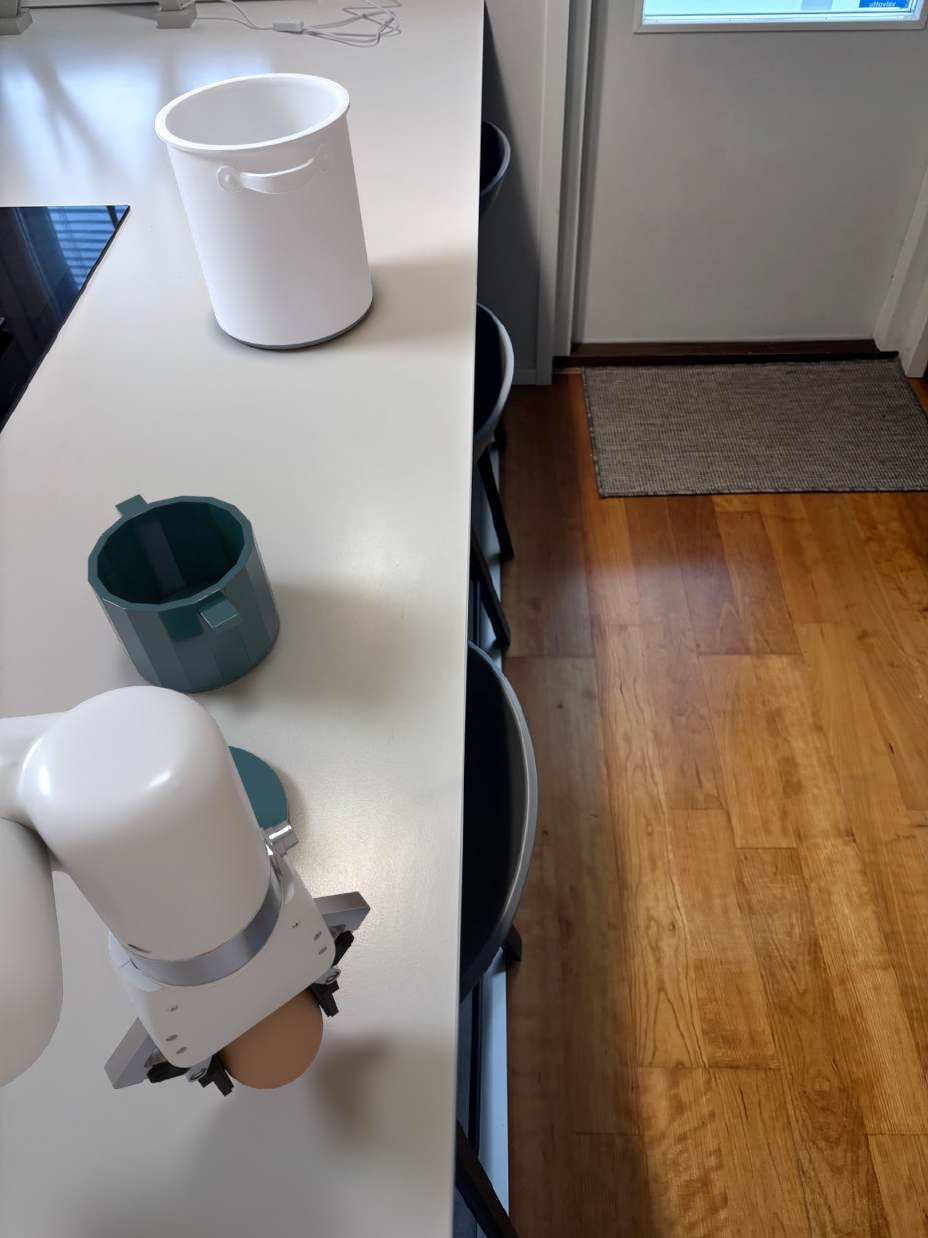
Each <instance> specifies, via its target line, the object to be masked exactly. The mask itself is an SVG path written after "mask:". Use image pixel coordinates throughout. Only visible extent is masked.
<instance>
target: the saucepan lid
mask: <svg viewBox="0 0 928 1238" xmlns="http://www.w3.org/2000/svg"><path fill="white" fill-rule="evenodd" d="M228 747H229V750H230V752H231V755H232V758H233V760H234V763H235V765H236V768H237V770H238V773H239V776H240V778H241V781H242V783H243V786H244V788H245V791H246V793H247V796H248V799H249V801H250V804H251V806H252V809H253V812H254V814H255V817H256V820H257V822H258V825H259V827H262V828H263V829H264V830H265V829H266V828H268V827H269V826H271V827H272V828H273V827H275V826H276V825H278V824H279V823H281V822H282V821H284V820H286V821H287V822H288V823H289V802H288V799H287V795H286V791H285V789H284V787H283V784H282V781H281V779H280V778H279V776H278V775H277V773H276V772H275V771H274V770H273V768H271V766H270V765H269V764H268V763H267V762H265V761H264V760H263V759H262V758H260V757H259V756H257V755H256V754H254V753H252V752H250V751H247V750H246V749H243V748H239V747H236V746H233V745H228Z"/></svg>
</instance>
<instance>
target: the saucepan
mask: <svg viewBox="0 0 928 1238" xmlns="http://www.w3.org/2000/svg"><path fill="white" fill-rule="evenodd" d="M114 507H115V510H116V512H117V514H118V515H119V517H120V518H119V519H117V520H116V521H115V522H114V523H113V524H112V525H110V526H109V527H108V528H107V529H106V530H105V531H104V532H102V533H101V534H100V535H99V537H98V538H97V541H96V543H95V544H94V546H93V548H92V550H91V552H90V553H89V555H88V557H87V582H88V584H89V585H90V588H91V590H92V592H93V594H94V596H95V598H96V600H97V601H98V603H99V605H100V607H101V609H102V610H103V613H104V615H105V618H106V619H107V621H108V623H109V624H110V627H111V628H112V630H113V632H114V634H115V637H116V638H117V640H118V642H119V644H120V646H121V648H122V649H123V651H124V654H125V655H126V657H127V659H128V660H129V662H130V664H131V665H132V666H133V668H134V670H135V672H136V673H137V674H138V675H139V677H141V678H142V679H143V680H144V681H146V682H147V683H148V684H151V686H156V687H161V688H166V689H171V690H174V691H177V692H179V693H199V692H201V693H202V692H206V691H210V690H214V689H218V688H221V687H224V686H226V685H228V684H231V683H233V682H235V681H237V680H239V679H241V678H242V677H244V676H246V675H247V674H249V673H250V672H251V671H252V670H253V669H255V668H256V667H257V666H258V665H259V664H260V663H262V661H264V659H265V658H266V657H267V655H268V654H269V653H270V651H271V650H272V648H273V646H274V645H275V643H276V640H277V637H278V634H279V630H280V616H279V615H280V614H279V611H278V607H277V601H276V598H275V595H274V591H273V589H272V586H271V581H270V579H269V576H268V572H267V570H266V566H265V563H264V560H263V557H262V554H261V550H260V547H259V544H258V541H257V538H256V533H255V531H254V527H253V523H252V522H251V521H250V519H248V517H247V516H246V515H245V514H244V513H243V512H242V511H241V510H240V509H239V507H237V506H236V505H234V504H233V503H229V502H227V501H224V500H222V499H219V498H216V497H214V496H206V495H205V496H203V495H201V496H200V495H179V496H173V497H170V498H169V497H168V498H164V499H159V500H155V501H152V502H149V503H148V502H147V501H146V500H145V498H143V496H142V495H141V494H140V493H139V494H135V495H134V496H132V497H130V498H128V499H126V500H124V501H121V502H120V503H117V504H115V505H114Z"/></svg>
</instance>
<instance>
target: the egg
mask: <svg viewBox="0 0 928 1238" xmlns="http://www.w3.org/2000/svg"><path fill="white" fill-rule="evenodd" d="M323 1033H324V1017H323V1012H322V1008H321V1006H320V1005H319V1002H318V1000H317V998H316V996H315V995H314V993H313V992H312V990H311V989H310V987H309V986H308V987H306V988H305V989H304V990H302V991H301V992H300V993H298V994H297V995H296V996H294V997H293V998H292V999H290V1000H289V1001H288V1002H286V1003H285V1004H283V1005H282V1006H281V1007H279V1008H278V1009H276V1010H275V1011H274V1012H272V1013H271V1014H270V1015H268V1016H267V1017H265V1018H264V1019H263V1020H261V1021H260V1022H258V1023H257V1024H256V1025H254V1026H253V1027H251V1028H250V1029H249V1030H247V1031H246V1032H244V1033H243V1034H242V1035H240V1036H239V1037H237V1038H236V1039H235V1040H233V1041H232V1042H230V1043H229V1044H228V1045H226V1046H225V1047H223V1048H222V1049H220V1050H219V1051H217V1052H216V1055H217V1057H218V1060H219V1061H220V1063H221V1065H222V1066H223V1068H224V1069H225V1071H226V1073H227V1074H228V1076H229V1077H230V1078H232V1079H234V1080H235V1081H237V1082H238V1083H240V1084H242V1085H243V1086H246V1087H249V1088H253V1089H256V1090H273V1089H280V1088H282V1087H285V1086H286V1085H288V1084H291V1083H294V1081H296V1080H297V1079H298V1078H300V1076H302V1075H303V1074H305V1072H306V1071H307V1070H308V1069H309V1067H310V1066H311V1065H312V1064H313V1062H314V1061H315V1059H316V1057H317V1056H318V1053H319V1050H320V1047H321V1045H322V1041H323Z"/></svg>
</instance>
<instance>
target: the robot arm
mask: <svg viewBox="0 0 928 1238" xmlns="http://www.w3.org/2000/svg"><path fill="white" fill-rule="evenodd" d="M228 746H229V744H228V742H227V740H226V738H225V736H224V734H223V732H222V730H221V728H220V726H219V724H218V723H217V721H216V719H215V718H214V716H212V714H211V713H210V712H208V710H207V709H206V708H205V706H203V705H201V704H200V703H198V702H197V701H196V700H194V699H193V698H191V697H190V696H188V695H187V694H184V693H183V692H177V691H174V690H171V689H166V688H161V687H156V686H154V685H131V686H125V687H119V688H115V689H110V690H108V691H105V692H102V693H100V694H96V695H94V696H92V697H90V698H88V699H87V700H84V701H82V702H81V703H79V704H77V705H76V706H74V707H73V708H71V709H69V710H66V711H55V712H49V713H40V714H32V715H24V716H12V717H1V718H0V1089H2V1088H4V1087H5V1086H7V1085H9V1084H11V1083H12V1082H14V1081H15V1080H16V1079H18V1078H19V1077H20V1076H21V1075H22V1074H24V1073H25V1072H26V1071H27V1070H29V1069H30V1068H32V1066H33V1065H34V1064H35V1063H36V1062H37V1060H38V1059H39V1058H40V1057H41V1056H42V1054H43V1053H44V1052H45V1051H46V1049H47V1048H48V1046H49V1045H50V1043H51V1040H52V1039H53V1036H54V1033H55V1031H56V1029H57V1027H58V1024H59V1022H60V1020H61V1019H60V1018H61V1014H62V1009H63V1002H64V1001H63V1000H64V977H63V958H62V949H61V939H60V930H59V921H58V915H57V907H56V897H55V896H56V895H55V889H54V880H53V872H61V873H64V874H66V875H68V876H69V878H70V879H71V880H72V881H73V883H74V884H75V885H76V887H77V888H78V889H79V891H80V892H81V894H82V895H83V897H84V898H85V900H87V902H88V903H89V904H90V906H91V907H92V908H93V910H94V911H95V913H96V914H97V915H98V916H99V918H100V919H101V920H102V922H103V923H104V924H105V926H106V927H107V929H108V930H109V931H108V936H107V937H108V938H107V947H108V953H109V959H110V963H111V966H112V968H113V971H114V974H115V976H116V979H117V981H118V984H119V985H120V987H121V988H122V991H123V993H124V994H125V996H126V998H127V1000H128V1002H129V1003H130V1005H131V1007H132V1008H133V1010H134V1012H135V1014H136V1016H137V1017H136V1019H135V1020H134V1022H133V1023H132V1024H131V1025H130V1028H129V1029H128V1030H127V1031H126V1033H125V1035H124V1036H123V1038H122V1039H121V1041H120V1042H119V1043H118V1045H117V1047H116V1048H115V1049H114V1051H113V1052H112V1054H111V1055H110V1057H109V1059H108V1060H107V1061H106V1063H105V1064H104V1067H103V1069H104V1072H105V1074H106V1075H107V1079H108V1080H109V1082H110V1085H111V1087H112V1089H113V1090H120V1089H123V1088H127V1087H131V1086H134V1085H139V1084H142V1083H143V1082H144V1081H145V1080H148V1081H149V1082H150V1083H151V1084H159V1083H162V1082H164V1081H168V1080H171V1079H174V1078H177V1077H181V1076H185V1078H186V1080H187V1082H188V1083H194V1082H196V1081H197V1082H198V1083H199V1084H200V1086H201V1087H202V1088H203V1089H205V1088H206V1087H207V1086H208V1085H210V1084H212V1083H214V1085H215V1086H216V1088H217V1089H218V1090H219V1092H220V1093H221V1094H222V1096H223V1097H224V1098H226V1097H227V1096H229V1095H230V1094H231V1093H232V1092H233V1089H234V1088H235V1085H234V1083H233V1081H232V1080H231V1077H230V1075H229V1074H228V1073H227V1071H226V1070H225V1069H224V1068H223V1066H222V1065H221V1063H220V1061H219V1060H218V1057H217V1055H216V1052H217V1051H219V1050H220V1049H222V1048H223V1047H225V1046H226V1045H228V1044H229V1043H230V1042H232V1041H233V1040H235V1039H236V1038H237V1037H239V1036H240V1035H242V1034H243V1033H244V1032H246V1031H247V1030H249V1029H250V1028H251V1027H253V1026H254V1025H256V1024H257V1023H258V1022H260V1021H261V1020H263V1019H264V1018H265V1017H267V1016H268V1015H270V1014H271V1013H272V1012H274V1011H275V1010H276V1009H278V1008H279V1007H281V1006H282V1005H283V1004H285V1003H286V1002H288V1001H289V1000H290V999H292V998H293V997H294V996H296V995H297V994H298V993H300V992H301V991H302V990H304V989H305V988H306V987H308V986H309V987H310V989H311V990H312V992H313V993H314V995H315V996H316V998H317V1000H318V1002H319V1005H320V1008H321V1010H322V1011H323V1013H324V1014H325V1016H326V1017H327V1018H330V1017H331V1018H334V1017H335V1016H336V1015H337V1014H339V1013H340V1011H339V1008H338V1005H337V1002H336V1000H335V997H334V995H333V994H334V993H336V992H337V991H339V990H340V985H339V982H338V980H337V979H338V978H339V977H340V976H341V974H342V969H341V968H340V967H339V965H338V964H339V963H340V961H341V960H342V958H344V956H345V954H346V953H347V951H348V950H349V949H350V948H351V947H352V944H353V943H354V941H355V936H354V934H353V933H354V932H355V931H358V929H359V928H360V926H361V925H362V923H363V922H364V920H365V919H366V918H367V916H368V915H369V913H370V912H371V909H372V908H371V906H370V905H369V903H368V902H367V901H366V899H365V898H364V897H363V895H362V894H361V893H360V891H358V890H357V891H356V890H355V891H349V892H344V893H337V894H332V895H325V896H324V895H323V896H318V897H313V896H312V894H311V892H310V891H309V889H308V887H307V886H306V884H305V882H304V881H303V879H302V877H301V876H300V874H299V872H298V871H297V870H296V868H295V866H294V865H293V863H292V861H291V860H290V859H289V858H288V857H287V855H288V851H290V850H291V849H293V848H294V847H295V846H297V845H299V844H300V841H299V838H298V837H297V834H296V833H295V831H294V830H293V828H292V826H291V825H290V824H289V821H288V822H287V821H286V820H284V821H282V822H281V823H279V824H278V825H276V826H275V827H273V828H272V827H271V826H269V827H268V828H266V829H265V830H264V829H263V828H262V827H259V825H258V822H257V820H256V817H255V814H254V812H253V809H252V806H251V804H250V801H249V799H248V796H247V793H246V791H245V788H244V786H243V783H242V781H241V778H240V776H239V773H238V770H237V768H236V765H235V763H234V760H233V758H232V755H231V752H230V750H229V747H228Z"/></svg>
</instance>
